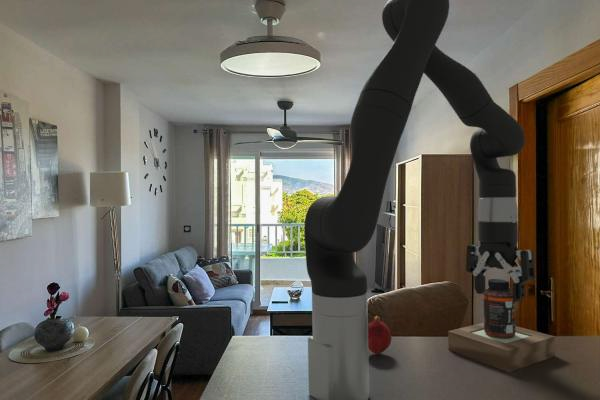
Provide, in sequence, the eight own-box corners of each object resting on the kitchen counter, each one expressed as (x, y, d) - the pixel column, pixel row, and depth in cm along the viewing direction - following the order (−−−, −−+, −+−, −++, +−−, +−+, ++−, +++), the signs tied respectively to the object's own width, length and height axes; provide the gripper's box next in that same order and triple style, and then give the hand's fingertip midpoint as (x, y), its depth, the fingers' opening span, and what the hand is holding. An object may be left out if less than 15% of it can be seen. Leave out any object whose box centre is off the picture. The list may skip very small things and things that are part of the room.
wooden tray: (509, 372, 78) (508, 350, 78) (448, 349, 90) (448, 331, 90) (555, 356, 85) (554, 336, 85) (493, 337, 97) (493, 320, 97)
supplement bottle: (519, 339, 84) (518, 283, 84) (487, 338, 85) (486, 282, 85) (511, 330, 90) (509, 277, 90) (481, 329, 91) (480, 277, 91)
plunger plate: (505, 348, 82) (505, 343, 82) (471, 337, 89) (471, 332, 89) (529, 341, 86) (529, 336, 86) (495, 331, 93) (495, 326, 93)
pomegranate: (392, 360, 85) (391, 320, 85) (363, 359, 86) (362, 320, 86) (390, 350, 90) (390, 313, 90) (363, 349, 91) (362, 312, 91)
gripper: (457, 219, 92) (458, 293, 92) (518, 221, 80) (520, 306, 80) (479, 218, 96) (480, 289, 96) (542, 219, 83) (543, 301, 83)
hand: (498, 297), depth 88 cm, fingers open, 8 cm apart
